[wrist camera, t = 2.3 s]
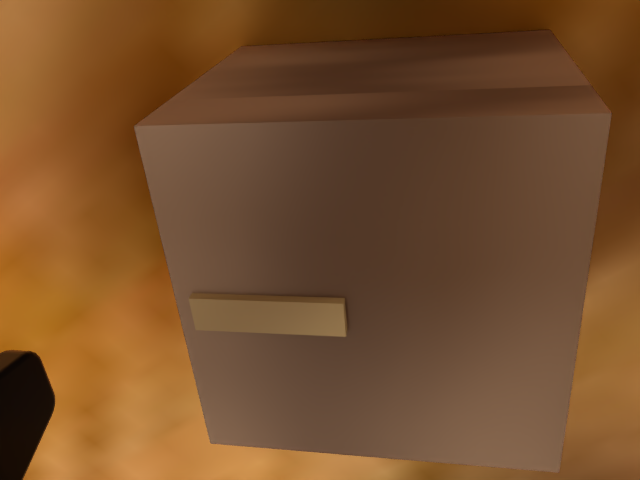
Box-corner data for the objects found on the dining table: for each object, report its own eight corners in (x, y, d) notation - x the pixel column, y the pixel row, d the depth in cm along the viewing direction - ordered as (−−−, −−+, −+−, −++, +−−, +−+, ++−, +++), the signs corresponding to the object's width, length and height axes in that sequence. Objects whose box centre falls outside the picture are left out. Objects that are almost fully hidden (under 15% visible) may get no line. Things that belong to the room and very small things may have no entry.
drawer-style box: (550, 29, 11) (614, 117, 7) (526, 297, 14) (560, 480, 10) (241, 46, 13) (128, 130, 8) (276, 290, 15) (207, 449, 11)
